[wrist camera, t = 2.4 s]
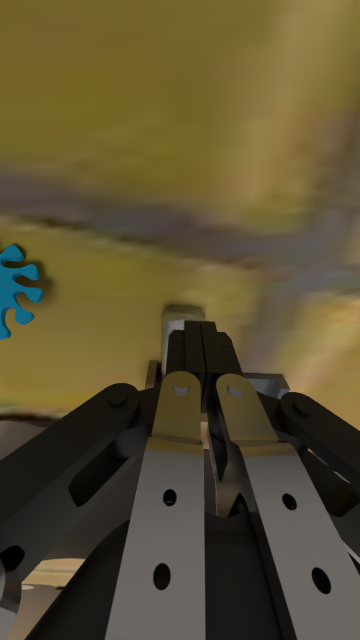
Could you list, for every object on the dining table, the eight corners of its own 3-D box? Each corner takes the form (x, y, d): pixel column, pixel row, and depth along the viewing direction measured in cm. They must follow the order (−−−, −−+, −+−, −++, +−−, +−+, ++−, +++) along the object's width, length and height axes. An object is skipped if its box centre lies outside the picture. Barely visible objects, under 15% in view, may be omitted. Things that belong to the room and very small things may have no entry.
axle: (164, 303, 24) (160, 325, 21) (203, 306, 24) (207, 327, 21) (161, 405, 34) (158, 432, 30) (190, 406, 34) (191, 434, 30)
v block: (226, 372, 30) (229, 386, 28) (282, 374, 30) (290, 389, 28) (215, 416, 35) (218, 431, 33) (263, 418, 35) (268, 433, 33)
